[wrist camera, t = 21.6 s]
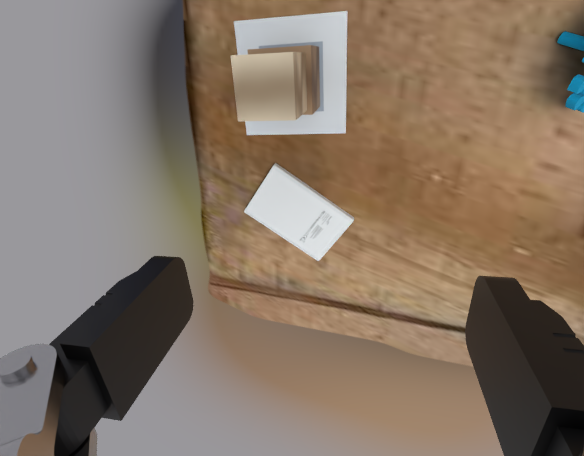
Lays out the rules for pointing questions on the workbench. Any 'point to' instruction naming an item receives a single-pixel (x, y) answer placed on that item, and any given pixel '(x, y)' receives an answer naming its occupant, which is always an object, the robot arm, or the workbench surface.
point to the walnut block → (311, 71)
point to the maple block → (270, 86)
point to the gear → (580, 84)
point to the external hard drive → (298, 213)
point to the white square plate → (332, 66)
